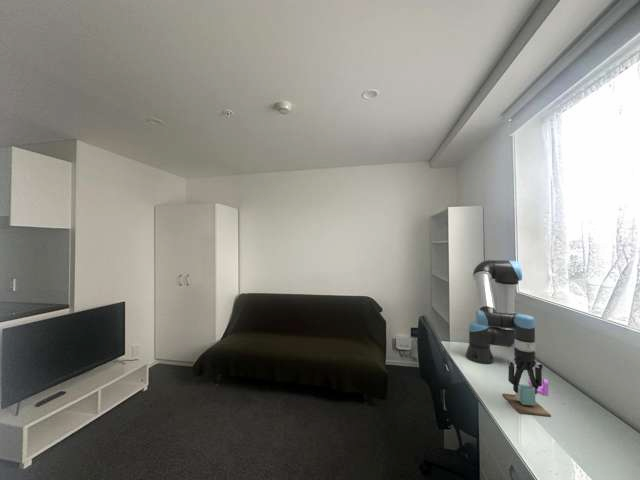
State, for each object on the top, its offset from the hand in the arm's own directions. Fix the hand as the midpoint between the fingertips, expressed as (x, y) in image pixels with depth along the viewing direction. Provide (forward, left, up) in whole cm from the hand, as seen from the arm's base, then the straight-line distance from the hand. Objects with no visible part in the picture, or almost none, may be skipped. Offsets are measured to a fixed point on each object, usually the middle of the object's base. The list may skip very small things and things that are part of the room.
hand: (525, 399), depth 118 cm
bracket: (-18, +16, -3) cm, 24 cm away
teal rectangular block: (0, 0, -1) cm, 1 cm away
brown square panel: (0, 0, -2) cm, 2 cm away
